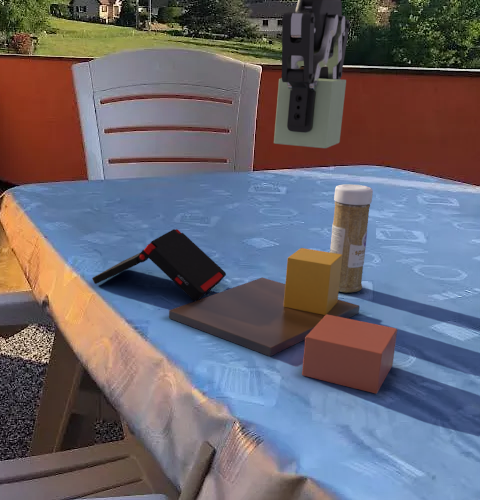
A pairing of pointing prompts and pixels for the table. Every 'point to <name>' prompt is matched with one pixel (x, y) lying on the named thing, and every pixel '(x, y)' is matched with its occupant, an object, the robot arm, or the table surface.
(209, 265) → the handheld gaming console
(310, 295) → the top block
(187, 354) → the table surface
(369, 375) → the base block
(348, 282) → the spice jar
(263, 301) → the board
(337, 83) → the middle block
